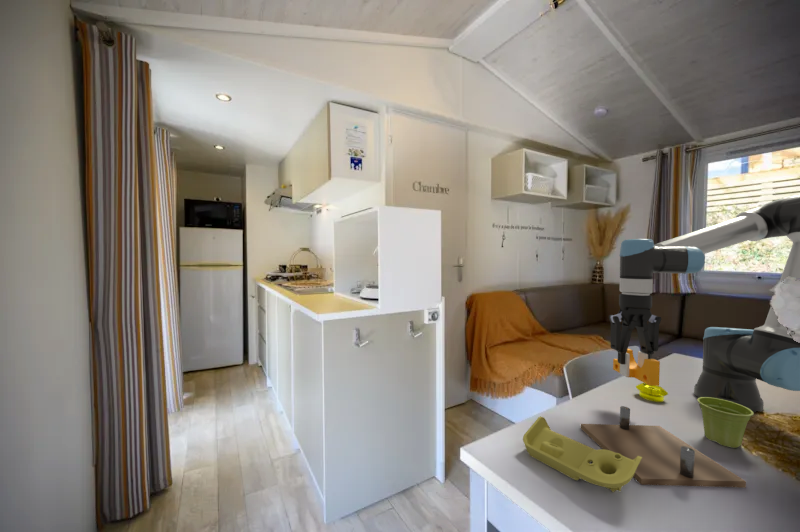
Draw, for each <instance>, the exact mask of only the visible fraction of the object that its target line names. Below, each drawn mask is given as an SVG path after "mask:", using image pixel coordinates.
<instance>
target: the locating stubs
mask: <svg viewBox="0 0 800 532" xmlns="http://www.w3.org/2000/svg"><path fill="white" fill-rule="evenodd" d="M630 419H631V408H630V407H628V406H623V405H621V406H620V407H619V425H620V426H619V427H620V428H621V429H624V430H629V425H631V424H630V421H631V420H630ZM694 458H695V451H694V450H693V449H691V448H689V447H685V446H682V447H681V456H680V474H681V475H683V476H685V477H688V478H693V477H694Z"/></svg>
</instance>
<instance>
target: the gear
mask: <svg viewBox="0 0 800 532" xmlns="http://www.w3.org/2000/svg"><path fill="white" fill-rule="evenodd" d="M635 388H636V389H637V390H638V391H639V394H638V396H639V397H640V398H643V399H645V400H647V401H649V402H650V401H651V402H656V403H663V402H664V401H665V396H667V395H669V393H668V391H667V390H665V389H664V388H663V387H661V386H660V385H659V386H652V385H647V384H645V383H644V382H641V383H639V384H637V385H636V386H635Z"/></svg>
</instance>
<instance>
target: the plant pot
mask: <svg viewBox="0 0 800 532" xmlns="http://www.w3.org/2000/svg"><path fill="white" fill-rule="evenodd" d="M696 400H697V402H698V404H699V408H700V409H701V416H702V421H703V422H702V423H703V431H704V432H703V433H704V436H705V437H706V438H707V439H708V440H709V441H712V442H716V443H718V444H719V446H720V445H721V446H724V447H728V448H734V449H735V448H739V447H741V446H742V443H743V439H744V437H745V436H744V434H745V431H746V428H747V425H748V422H749V421H750V419H751V417H753V416H754V413H755V412H753V411H752V410H750V409H749V408H747V407H745V406H742V405H740V404H737V403H734V402H731V401H727V400H723V399H718V398H711V397H700V398H699V397H697V399H696Z"/></svg>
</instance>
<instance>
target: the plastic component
mask: <svg viewBox="0 0 800 532" xmlns="http://www.w3.org/2000/svg"><path fill="white" fill-rule="evenodd" d="M522 441H523V444H524V447H525V450H526V451H527V454H528V455H529V456H530V457H532V458H533V459H535V460H537V461H539V462H540V463H543V464H545V465H546V466H548V467H550V468H552V469H554V471H557V472H559V473H561V474H563V475H565V476H566V477H569V478H571V480H574V481H579V480H583V481H586V482H587V483H590V484H593V485H595V486H599V487H602V488H603V487H604V488H605V489H608V490H611V492H612V493H615V492H617V491H618V492H622V490H621V489H622V487H624V486H626V485H628V483H630V481H632V479H633V476H634V474H635V471H636V469H637V467H638V465H639V463H640V461H641V459H642V457H640V456H637V457H636V458H635V459H633V460H632V459H629V458H627V457H624V456H622V455H621V454H619V453H615V452H613V451H610V450H605V449H602V448H600V449H599V448H598V449H595V448H593V447H591V446H588V445H586V444H585V443H584V444H583V443H581V442H579V441H577V440H575V439H572V438H570V437H568V436H565V435H563V434H561V433H558V432H556V431H554V430H552V429H551V427H550V425H549V424H548V422H547V420H546V418H545V417H543V416H538V418H537V419H535V421H534V422H533V423H532V425H530V427H529V428H528V430H527V431H526V432H525V433H524V434H523V437H522Z"/></svg>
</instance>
